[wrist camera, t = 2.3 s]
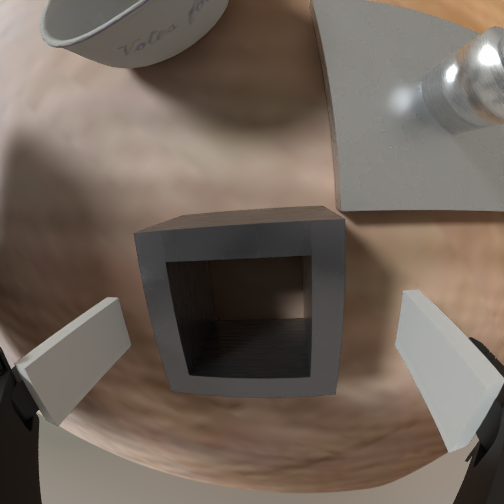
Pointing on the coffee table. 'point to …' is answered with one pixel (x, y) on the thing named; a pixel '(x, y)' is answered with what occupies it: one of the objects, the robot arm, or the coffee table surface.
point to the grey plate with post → (411, 108)
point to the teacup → (128, 28)
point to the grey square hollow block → (245, 331)
